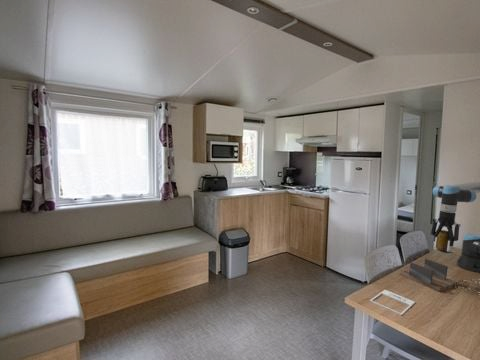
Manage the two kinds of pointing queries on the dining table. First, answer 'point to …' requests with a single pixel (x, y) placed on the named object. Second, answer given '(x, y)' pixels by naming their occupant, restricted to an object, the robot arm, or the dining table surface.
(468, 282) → the dining table surface
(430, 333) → the dining table surface
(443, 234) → the condiment
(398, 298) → the photo frame
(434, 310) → the dining table surface
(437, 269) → the tray
